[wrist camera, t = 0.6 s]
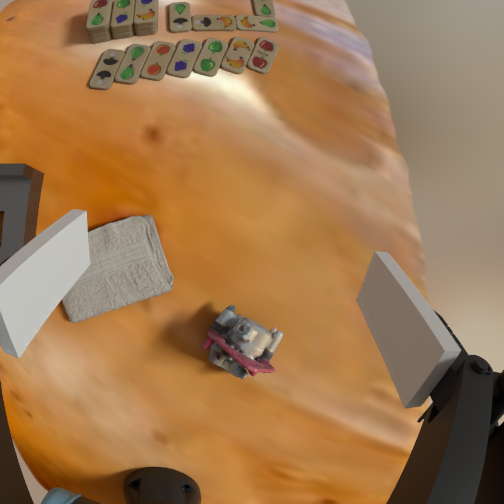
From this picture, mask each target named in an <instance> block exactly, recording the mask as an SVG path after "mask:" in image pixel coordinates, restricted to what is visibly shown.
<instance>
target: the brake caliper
mask: <svg viewBox="0 0 504 504" xmlns="http://www.w3.org/2000/svg"><path fill="white" fill-rule="evenodd" d="M234 311H235V306H234V305H230V306H229V307H227V308H226V309H224V310H223V312H222V313H221V314H220V315H219V316H218V317H217V319H216V320H215V322H214V323H213V325H212V326H211V327H210V328H209V331H208V332H207V334H208V337H207V339H206V340H205V342H204V343H203V345H202V348H203V349H205V350H207V349H208V348H210V347H211V350H210V353H209V356H208V360H209V361H210V363H212V364H214V365H216V366H220V367H222V368H223V369H225V370H226V371H228V372H229V373H231V374H233V375H234V376H236V377H239V378H241V379H245V378H246V377H247V376H248V372H249V373H250V375H252V376H255V375H256V374H257V372H263V373H271V372H274V371H275V369H274V368H273V367H272V366H271V365H270V363H269V360H270V358H271V357H272V355H273V353H274V351H275V349H276V348H277V346H278V345H279V343H280V341H281V339H282V338H283V335H284V334H283V332H282V331H277V332H276V328H272V329H271V331H270V332H269V331H268V330H266V329H265V328H264V327H263V326H261V325H259V324H258V323H256V322H255V321H253V320H251V319H249V318H243V317H242V316H241V315H239V314H234ZM244 368H246V369H247V370H248V372H247V370H246V369H244Z"/></svg>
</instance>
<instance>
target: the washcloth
mask: <svg viewBox="0 0 504 504" xmlns="http://www.w3.org/2000/svg"><path fill="white" fill-rule="evenodd" d="M88 243H89V254H90V266H89V267H88V268H87V269H86V270H85V271H84V273H83V274H82V275H81V276H80V277H79V279H78V280H77V281H76V282H75V284H74V285H73V286H72V287H71V289H70V290H69V291H68V292H67V294H66V295H65V296H64V297H63V299H62V303H63V305H64V307H65V310H66V312H67V315H68V317H69V320H70V321H71V322H72V323H78V321H82V320H85V319H88V318H92V317H94V316H98V315H100V314H102V313H104V312H108V311H110V310H116V309H118V308H120V307H121V308H122V307H123V306H126V305H131V304H133V303H135V302H138V301H142V300H145V299H148V298H151V297H153V296H157V295H161V294H163V293H167V292H168V291H170V290H172V287H173V285H172V283H173V280H174V276H173V275H172V273H171V272H170V269H169V267H168V264H167V261H166V258H165V255H164V252H163V249H162V246H161V243H160V240H159V237H158V233H157V230H156V226H155V223H154V220H153V218H152V215H148V216H147V215H146V216H143V217H142V216H132V217H129V218H126V219H124V220H120V221H117V222H113V223H108V224H106V225H104V226H101V227H99V228H97V229H94V230H92V231H90V232H88Z"/></svg>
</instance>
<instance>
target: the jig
mask: <svg viewBox="0 0 504 504" xmlns="http://www.w3.org/2000/svg"><path fill="white" fill-rule="evenodd" d="M43 176H44V173H42V172H40V171H38V170H36V169H34V168H32V167H30V166H28V165H26V164H0V212H4V219H3V229H2V241H1V244H0V264H1V263H2V262H3V261H4V260H5V259H7V258H9V257H11V256H13V255H14V254H15V253H16V252H18V251H19V250H20V249H21V248H22V247H24V246H25V245H26V244H27V243H29V242H30V241H31V240H32V239H34V238H35V236H36V226H37V217H38V208H39V201H40V194H41V188H42V182H43Z"/></svg>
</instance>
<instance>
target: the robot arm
mask: <svg viewBox="0 0 504 504" xmlns="http://www.w3.org/2000/svg"><path fill="white" fill-rule="evenodd" d="M89 266H90V254H89V243H88V229H87V211H84V210H75V209H73V210H71V211H70V212H68V213H67V214H66V215H64V216H63V217H61V218H60V219H59V220H57V221H56V222H55V223H53V224H52V225H51V226H49V227H48V228H47V229H45V230H44V231H43V232H41V233H40V234H39V235H37V236H36V237H35V238H34V239H32V240H31V241H30V242H29V243H27V244H26V245H25V246H24V247H22V248H21V249H20V250H19V251H18V252H16V253H15V254H14V255H13V256H11V257H9V258H7V259H5V260H4V261H3V262H2V263H1V264H0V344H1V346H2V348H3V350H4V352H5V353H7V354H10V355H12V356H15V357H17V358H20V356H21V355H22V353H23V352H24V351H25V349H26V348H27V346H28V345H29V343H30V342H31V340H32V339H33V338H34V336H35V335H36V333H37V332H38V330H39V329H40V328H41V326H42V325H43V324H44V322H45V321H46V320H47V318H48V317H49V316H50V314H51V313H52V312H53V310H54V309H55V308H56V306H57V305H58V304H59V302H60V301H61V300H62V299H63V297H64V296H65V295H66V294H67V292H68V291H69V290H70V289H71V287H72V286H73V285H74V284H75V282H76V281H77V280H78V279H79V277H80V276H81V275H82V274H83V273H84V271H85V270H86V269H87V268H88V267H89ZM356 301H357V303H358V305H359V307H360V309H361V311H362V313H363V315H364V317H365V320H366V322H367V324H368V326H369V328H370V330H371V332H372V334H373V337H374V339H375V341H376V343H377V345H378V348H379V350H380V352H381V354H382V357H383V359H384V361H385V363H386V366H387V368H388V370H389V373H390V375H391V377H392V380H393V382H394V384H395V387H396V389H397V392H398V394H399V397H400V399H401V401H402V404H403V406H404V408H411V407H419V406H421V405H422V404H423V403H424V402H425V400H426V399H427V398H428V397H429V395H430V397H431V399H432V401H433V403H432V404H431V405H430V406H429V408H428V409H427V410H426V411H425V412H424V414H423V415H422V416H421V417H420V418H419V420H418V421H417V422H419V423H420V422H421V421H422V419H424V418H425V419H424V421H423V424H422V427H421V430H420V432H419V435H418V437H417V440H416V442H415V445H414V447H413V450H412V452H411V454H410V457H409V459H408V461H407V463H406V465H405V468H404V470H403V472H402V474H401V476H400V478H399V480H398V482H397V484H396V486H395V488H394V490H393V492H392V494H391V496H390V498H389V500H388V502H387V503H386V504H504V422H503V423H502V424H501V425H500V426H499V425H498V420H499V419H500V418H501V417H502V415H504V370H503V372H502V373H497V372H493V370H492V368H491V366H490V365H489V364H488V362H487V361H485V360H484V359H483V358H481V357H479V356H477V355H468V354H467V352H466V351H465V349H464V348H463V346H462V345H461V343H460V342H459V340H458V339H457V337H456V336H455V335H454V334H453V332H452V330H451V329H450V327H448V325H447V323H446V322H445V321H444V320H443V318H442V317H441V316H440V315H439V314H438V313H437V312H435V311H434V310H433V309H432V308H431V306H430V305H429V304H428V302H427V301H426V300H425V298H424V297H423V296H422V294H421V293H420V292H419V291H418V289H417V288H416V287H415V285H414V284H413V283H412V282H411V280H410V279H409V278H408V276H407V275H406V274H405V273H404V271H403V270H402V269H401V268H400V267H399V265H398V264H397V263H396V262H395V260H394V259H393V258H392V257H391V256H390V254H389V253H385V252H379V251H374V254H373V257H372V259H371V262H370V265H369V268H368V271H367V274H366V276H365V279H364V282H363V284H362V287H361V290H360V292H359V295H358V297H357V300H356ZM124 497H125V500H126V503H127V504H201V494H200V489H199V486H198V485H197V483H196V482H195V481H194V480H193V479H192V478H190V477H189V476H187V475H186V474H184V473H181V472H179V471H176V470H172V469H168V468H160V467H151V468H144V469H140V470H137V471H135V472H133V473H131V474H130V475H129V476H128V477H127V478H126V480H125V483H124ZM0 504H34V503H33V501H32V498H31V496H30V493H29V491H28V488H27V485H26V483H25V480H24V477H23V474H22V471H21V468H20V465H19V462H18V459H17V455H16V452H15V449H14V445H13V441H12V437H11V434H10V429H9V425H8V421H7V416H6V411H5V406H4V401H3V395H2V389H1V382H0ZM41 504H100V503H98V502H95V501H93V500H90V499H88V498H85V497H83V495H81V494H76V493H73V492H71V491H68V490H66V489H64V488H60V487H55V488H53V489H51V490H50V491H49V492H48V493H47V495H46V496H45V497H44V499H43V501H42V502H41Z"/></svg>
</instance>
